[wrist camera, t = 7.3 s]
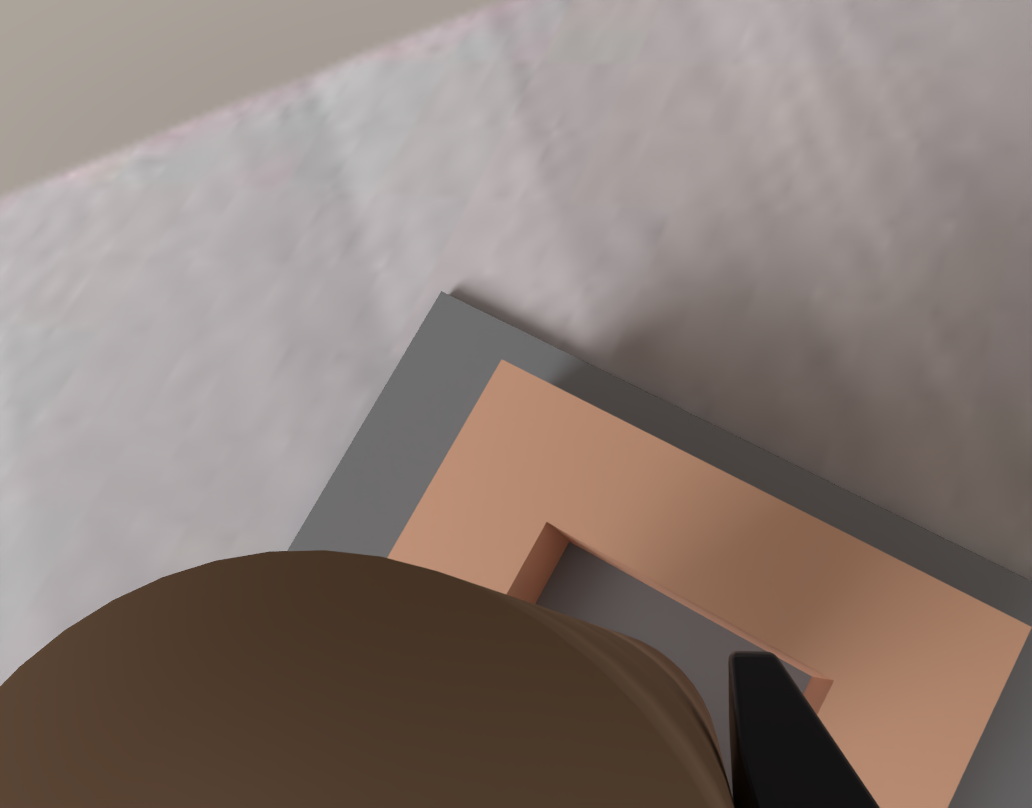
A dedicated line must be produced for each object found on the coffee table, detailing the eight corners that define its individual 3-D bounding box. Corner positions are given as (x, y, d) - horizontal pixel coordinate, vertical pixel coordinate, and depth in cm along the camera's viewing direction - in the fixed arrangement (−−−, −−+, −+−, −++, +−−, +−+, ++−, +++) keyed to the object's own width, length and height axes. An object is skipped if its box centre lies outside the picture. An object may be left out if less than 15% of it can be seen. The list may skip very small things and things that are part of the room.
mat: (1168, 653, 20) (1178, 653, 19) (871, 1324, 18) (874, 1339, 17) (445, 296, 25) (441, 291, 24) (153, 789, 23) (144, 792, 22)
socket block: (975, 631, 20) (1032, 627, 17) (737, 1134, 18) (746, 1239, 15) (529, 401, 23) (501, 359, 20) (294, 816, 22) (220, 846, 18)
